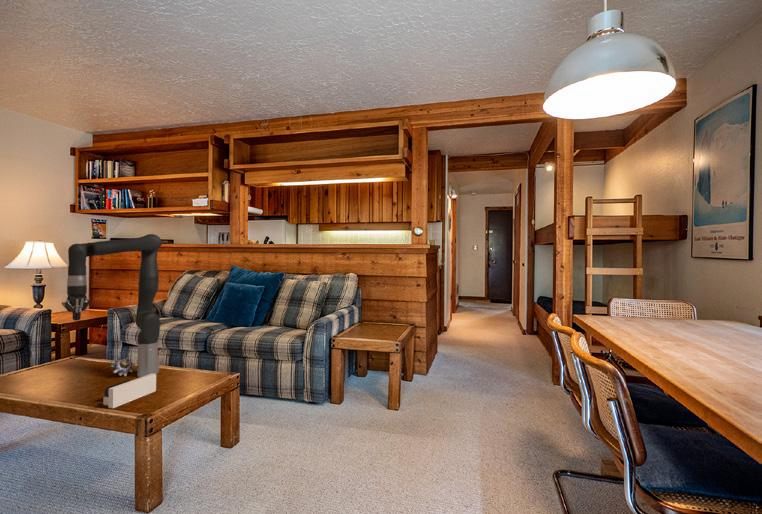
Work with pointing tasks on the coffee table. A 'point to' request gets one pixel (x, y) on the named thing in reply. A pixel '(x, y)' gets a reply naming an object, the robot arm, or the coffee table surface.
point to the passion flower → (122, 366)
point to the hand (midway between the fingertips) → (76, 320)
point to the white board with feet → (130, 391)
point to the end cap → (111, 387)
